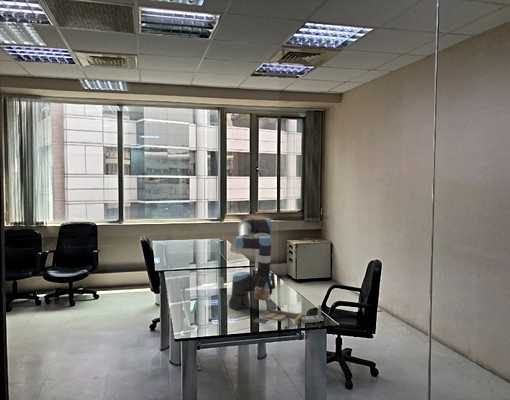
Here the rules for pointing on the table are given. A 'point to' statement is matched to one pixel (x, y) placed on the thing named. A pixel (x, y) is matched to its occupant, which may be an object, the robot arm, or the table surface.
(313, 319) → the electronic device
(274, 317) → the deck
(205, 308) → the table surface
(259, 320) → the mat
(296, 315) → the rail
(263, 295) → the clip block
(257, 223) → the robot arm
